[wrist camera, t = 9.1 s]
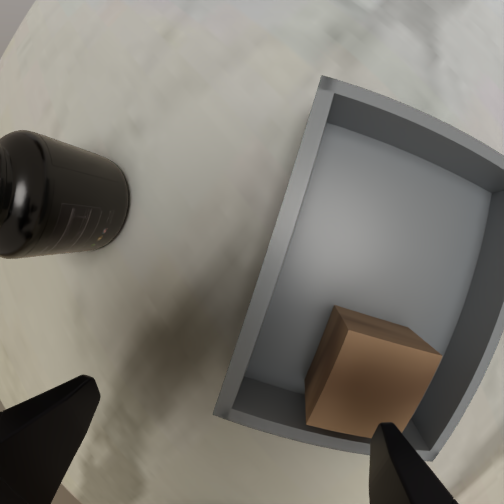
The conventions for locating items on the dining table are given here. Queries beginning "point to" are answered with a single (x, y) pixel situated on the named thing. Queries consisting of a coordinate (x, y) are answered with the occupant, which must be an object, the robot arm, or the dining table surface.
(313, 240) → the tote
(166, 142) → the dining table surface
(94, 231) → the supplement bottle
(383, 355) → the walnut cube
